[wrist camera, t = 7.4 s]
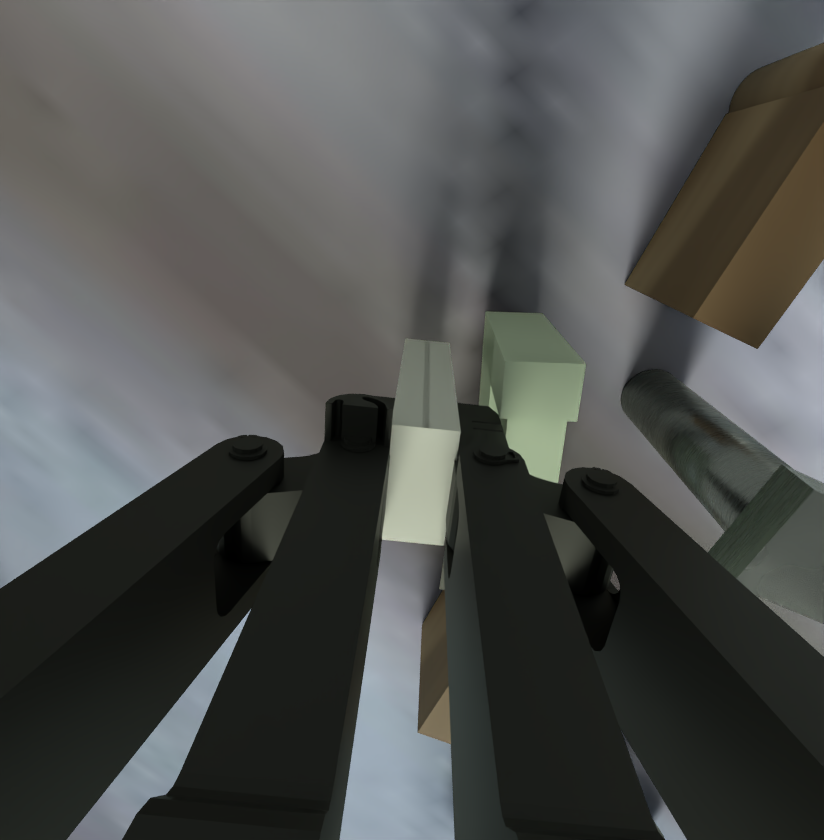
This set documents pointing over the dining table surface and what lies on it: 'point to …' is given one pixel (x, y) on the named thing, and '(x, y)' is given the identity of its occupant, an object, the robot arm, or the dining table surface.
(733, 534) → the post
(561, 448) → the gate
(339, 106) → the dining table surface
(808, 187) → the fence far side
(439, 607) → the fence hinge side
